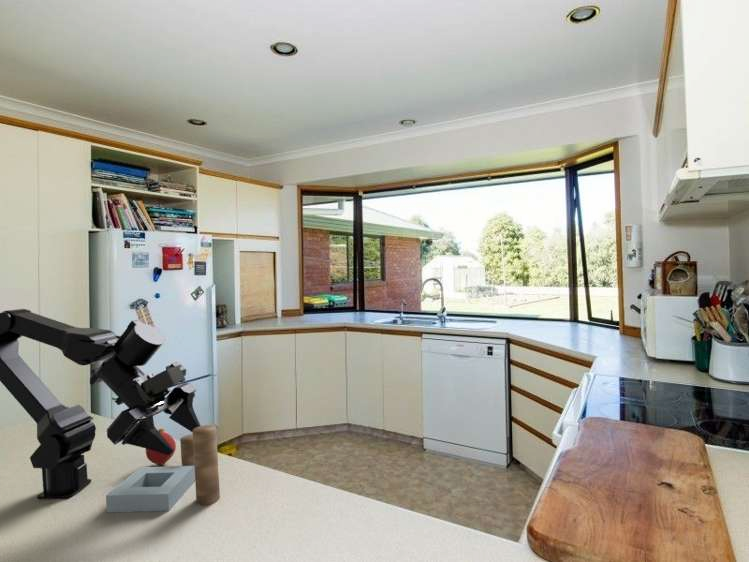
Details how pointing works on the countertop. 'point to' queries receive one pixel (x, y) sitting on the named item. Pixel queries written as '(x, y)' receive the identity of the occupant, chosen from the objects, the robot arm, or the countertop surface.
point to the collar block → (151, 489)
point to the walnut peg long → (206, 464)
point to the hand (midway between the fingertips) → (186, 442)
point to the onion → (159, 457)
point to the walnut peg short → (187, 450)
